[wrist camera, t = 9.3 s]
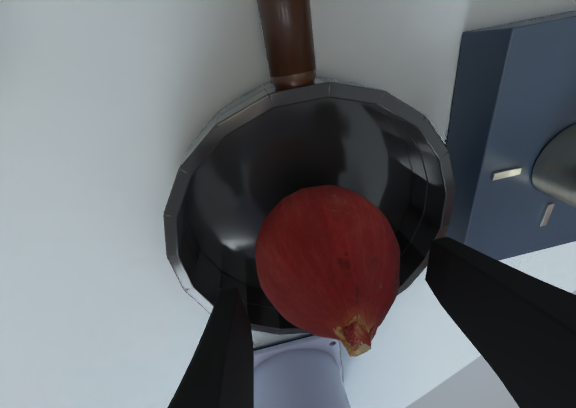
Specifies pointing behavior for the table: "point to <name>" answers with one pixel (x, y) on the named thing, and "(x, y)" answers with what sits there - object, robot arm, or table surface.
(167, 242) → the skillet
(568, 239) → the blue control panel
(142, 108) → the table surface
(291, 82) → the skillet handle
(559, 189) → the knob
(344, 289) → the red pomegranate
